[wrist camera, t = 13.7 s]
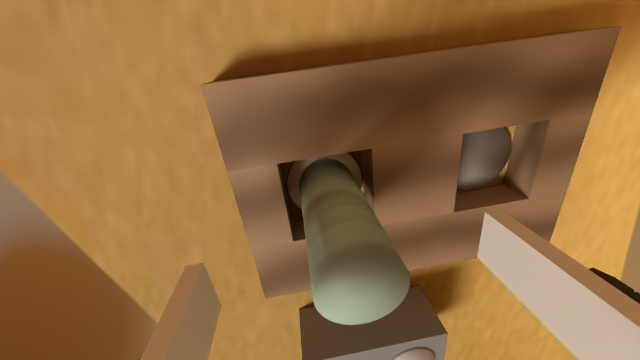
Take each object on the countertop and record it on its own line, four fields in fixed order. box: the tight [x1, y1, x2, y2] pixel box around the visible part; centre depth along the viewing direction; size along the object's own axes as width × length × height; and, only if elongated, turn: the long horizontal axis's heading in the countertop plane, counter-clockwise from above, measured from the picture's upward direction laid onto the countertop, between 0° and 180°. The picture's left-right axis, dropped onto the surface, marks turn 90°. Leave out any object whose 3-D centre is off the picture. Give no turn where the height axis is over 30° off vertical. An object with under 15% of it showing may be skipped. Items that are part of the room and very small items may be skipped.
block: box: [299, 286, 448, 360], centre depth 24 cm, size 6×12×5 cm, turn 97°
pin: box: [299, 158, 410, 325], centre depth 15 cm, size 4×4×10 cm
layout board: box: [201, 26, 621, 298], centre depth 19 cm, size 16×24×2 cm, turn 97°
